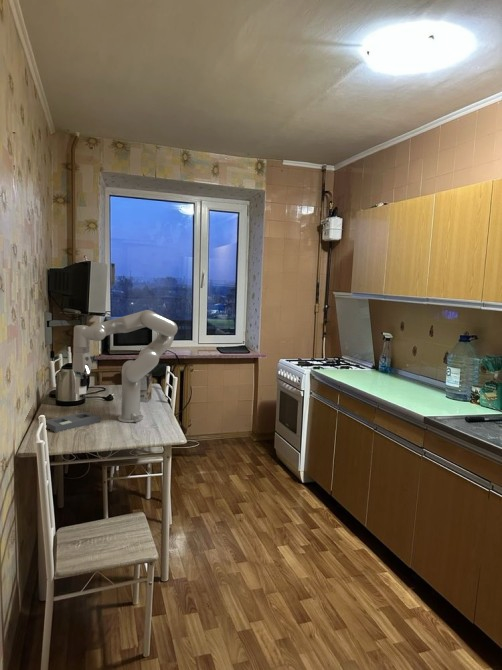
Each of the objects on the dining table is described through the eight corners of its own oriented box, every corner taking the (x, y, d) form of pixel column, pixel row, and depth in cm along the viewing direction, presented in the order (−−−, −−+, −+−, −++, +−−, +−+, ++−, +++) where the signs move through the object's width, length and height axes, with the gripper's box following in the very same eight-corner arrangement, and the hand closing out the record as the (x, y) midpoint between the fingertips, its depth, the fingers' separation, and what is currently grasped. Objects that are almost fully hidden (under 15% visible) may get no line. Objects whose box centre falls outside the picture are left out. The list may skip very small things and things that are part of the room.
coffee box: (147, 402, 271) (148, 376, 269) (137, 401, 271) (138, 375, 269) (151, 398, 280) (152, 373, 278) (141, 397, 280) (142, 372, 278)
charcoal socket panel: (99, 421, 230) (99, 415, 229) (55, 432, 210) (55, 425, 210) (86, 416, 237) (86, 410, 236) (42, 426, 218) (42, 420, 217)
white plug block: (86, 393, 226) (86, 374, 225) (79, 394, 223) (79, 375, 222) (81, 392, 229) (82, 372, 227) (74, 393, 225) (75, 373, 224)
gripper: (97, 351, 221) (96, 387, 223) (79, 347, 231) (78, 381, 233) (83, 352, 215) (83, 389, 217) (65, 348, 225) (65, 383, 227)
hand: (80, 385), depth 225 cm, fingers closed on white plug block, 4 cm apart
